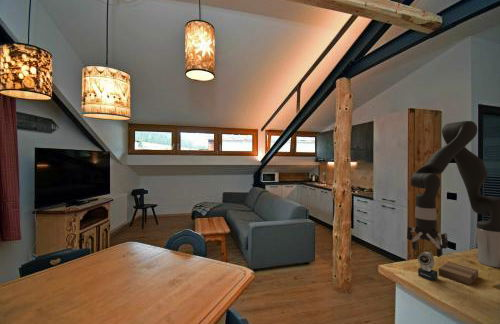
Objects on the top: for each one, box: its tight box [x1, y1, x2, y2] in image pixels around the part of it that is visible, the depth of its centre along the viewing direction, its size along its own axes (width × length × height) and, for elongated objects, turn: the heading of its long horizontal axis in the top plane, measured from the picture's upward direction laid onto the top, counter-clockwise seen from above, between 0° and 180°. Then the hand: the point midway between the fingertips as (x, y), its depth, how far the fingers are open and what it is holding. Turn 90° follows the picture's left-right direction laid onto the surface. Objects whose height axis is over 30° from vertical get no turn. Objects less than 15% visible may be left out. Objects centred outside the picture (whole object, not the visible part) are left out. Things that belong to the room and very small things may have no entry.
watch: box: [417, 251, 439, 282], centre depth 96 cm, size 6×8×11 cm
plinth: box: [438, 261, 479, 286], centre depth 96 cm, size 12×10×3 cm
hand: (426, 253), depth 96 cm, fingers open, 8 cm apart
